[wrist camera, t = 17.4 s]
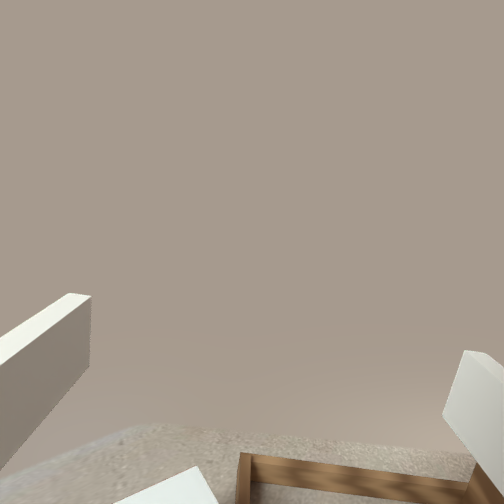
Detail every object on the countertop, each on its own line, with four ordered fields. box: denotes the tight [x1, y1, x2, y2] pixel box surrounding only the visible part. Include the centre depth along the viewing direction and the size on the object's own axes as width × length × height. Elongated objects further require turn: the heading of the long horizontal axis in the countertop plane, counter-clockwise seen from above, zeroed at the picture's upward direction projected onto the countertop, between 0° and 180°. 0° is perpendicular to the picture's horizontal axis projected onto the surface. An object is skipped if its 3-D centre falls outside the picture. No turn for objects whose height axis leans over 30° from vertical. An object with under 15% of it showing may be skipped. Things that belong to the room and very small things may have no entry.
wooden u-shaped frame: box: [235, 452, 504, 504], centre depth 37 cm, size 30×11×10 cm, turn 89°
